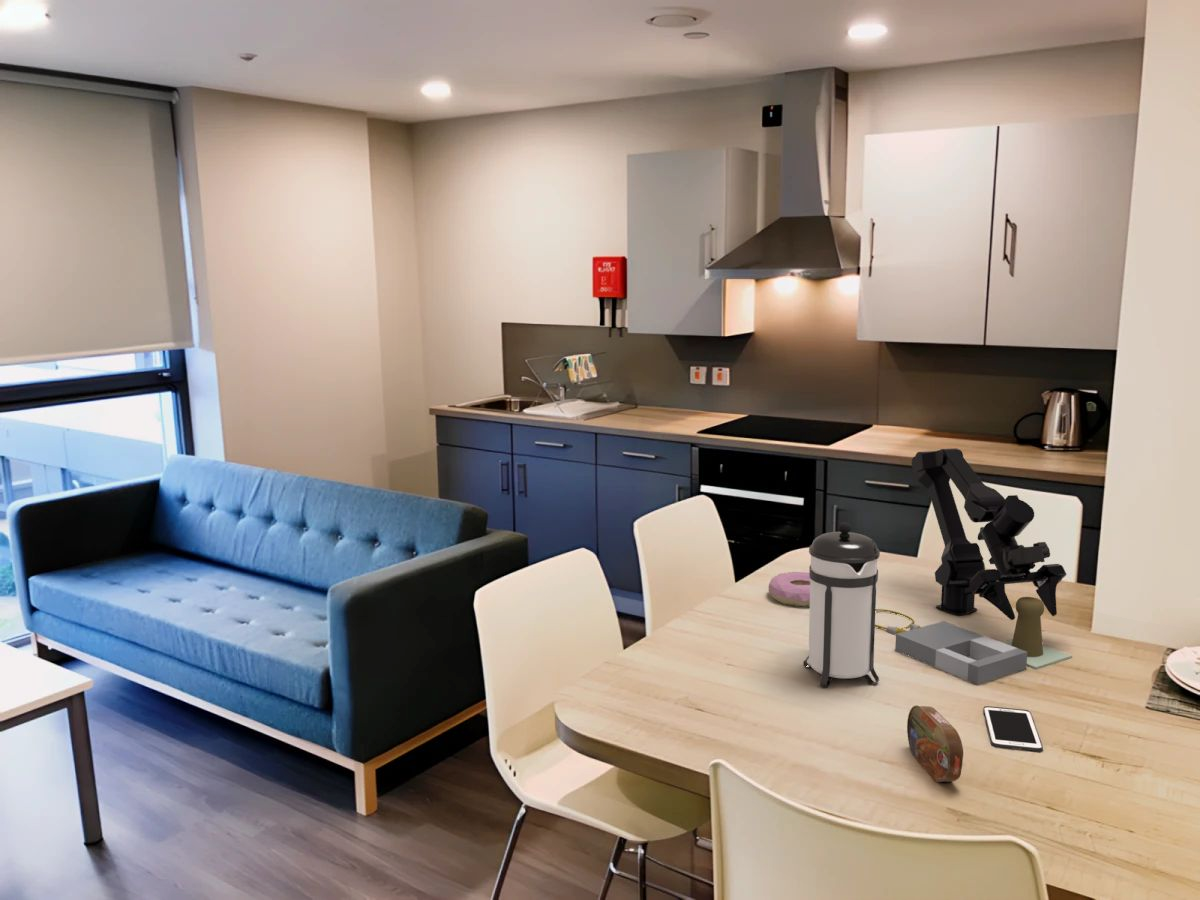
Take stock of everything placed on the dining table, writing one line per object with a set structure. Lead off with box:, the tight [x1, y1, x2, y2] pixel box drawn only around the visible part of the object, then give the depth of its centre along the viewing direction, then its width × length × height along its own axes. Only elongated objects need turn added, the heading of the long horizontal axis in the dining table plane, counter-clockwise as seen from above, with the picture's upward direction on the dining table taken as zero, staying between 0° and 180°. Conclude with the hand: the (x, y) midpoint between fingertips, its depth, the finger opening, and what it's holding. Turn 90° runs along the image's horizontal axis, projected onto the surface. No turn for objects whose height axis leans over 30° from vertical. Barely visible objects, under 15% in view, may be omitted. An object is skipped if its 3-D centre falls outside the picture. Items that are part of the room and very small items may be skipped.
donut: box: [768, 571, 810, 607], centre depth 230 cm, size 16×15×5 cm
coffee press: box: [803, 521, 881, 688], centre depth 184 cm, size 17×16×30 cm
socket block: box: [894, 620, 1028, 686], centre depth 192 cm, size 20×14×4 cm
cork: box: [1011, 596, 1045, 657], centre depth 194 cm, size 6×6×11 cm
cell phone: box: [982, 705, 1044, 753], centre depth 163 cm, size 8×15×1 cm, turn 164°
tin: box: [906, 705, 964, 783], centre depth 150 cm, size 15×3×8 cm, turn 5°
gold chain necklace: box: [875, 608, 921, 635], centre depth 212 cm, size 12×16×2 cm
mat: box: [1001, 638, 1073, 670], centre depth 195 cm, size 12×11×1 cm
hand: (1034, 617), depth 192 cm, fingers open, 9 cm apart
